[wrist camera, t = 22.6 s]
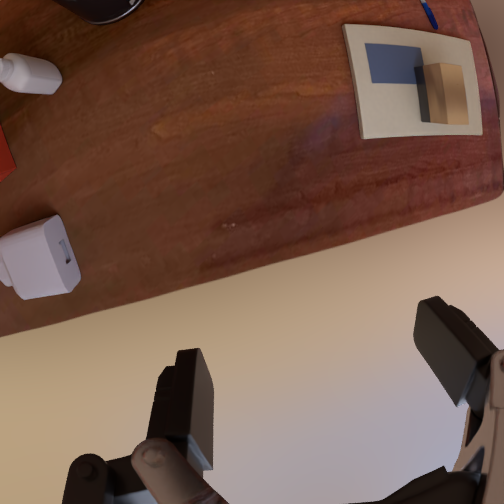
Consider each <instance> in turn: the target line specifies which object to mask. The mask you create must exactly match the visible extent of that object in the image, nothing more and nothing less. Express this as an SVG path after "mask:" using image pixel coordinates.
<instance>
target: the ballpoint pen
mask: <svg viewBox="0 0 504 504" xmlns="http://www.w3.org/2000/svg"><path fill="white" fill-rule="evenodd" d="M420 1H421V3H422V5H423V8H424V10H425V11H426V14H427V15H428V18H429V20H430V22H431V24H432V26H433V27H434V29H436V30H437V29H438V25H437V22H436V20H435V18H434V15H433V13H432V11H431V9H430V8H429V7H428V6H427V3H426V2H425V0H420Z"/></svg>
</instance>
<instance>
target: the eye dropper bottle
mask: <svg viewBox="0 0 504 504" xmlns="http://www.w3.org/2000/svg"><path fill="white" fill-rule="evenodd" d="M0 82H2V84H3V85H4V86H5V87H7V88H8V89H10V90H12V91H16V92H23V93H37V94H53V93H55V91H56V90H57V89H58V87H59V86H60V85H61V83H62V76H61V74H60V72H59V70H58V69H57V67H56V66H55V65H54V64H52V63H51V62H49V61H47V60H43V59H39V58H35V57H30V56H26V55H21V54H16V53H9V54H6V55H5V56H4V58H0Z"/></svg>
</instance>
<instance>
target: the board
mask: <svg viewBox="0 0 504 504" xmlns="http://www.w3.org/2000/svg"><path fill="white" fill-rule="evenodd" d="M342 30H343V34H344V39H345V44H346V48H347V53H348V58H349V64H350V69H351V75H352V80H353V86H354V92H355V99H356V106H357V113H358V120H359V128H360V137H361V139H370V138H384V137H400V136H422V135H482V120H481V108H480V99H479V90H478V83H477V76H476V70H475V64H474V59H473V54H472V49H471V44H470V41H468V40H463V39H459V38H455V37H450V36H446V35H441V34H436V33H430V32H424V31H418V30H411V29H404V28H396V27H386V26H375V25H359V24H344V25H342ZM434 63H447V64H453V65H460V66H462V71H463V78H464V84H465V91H466V99H467V108H468V119H469V125H447V124H438V123H427V122H421V113H420V105H419V97H418V90H417V84H416V77H415V72H414V67H418V66H423V65H429V64H434Z"/></svg>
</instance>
